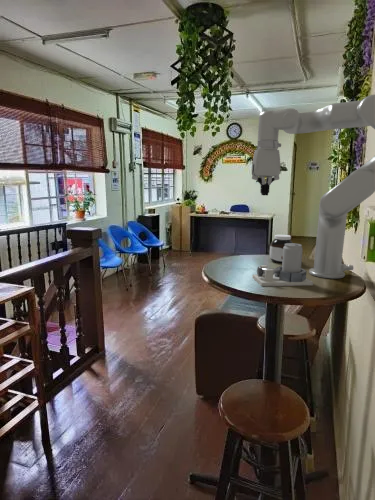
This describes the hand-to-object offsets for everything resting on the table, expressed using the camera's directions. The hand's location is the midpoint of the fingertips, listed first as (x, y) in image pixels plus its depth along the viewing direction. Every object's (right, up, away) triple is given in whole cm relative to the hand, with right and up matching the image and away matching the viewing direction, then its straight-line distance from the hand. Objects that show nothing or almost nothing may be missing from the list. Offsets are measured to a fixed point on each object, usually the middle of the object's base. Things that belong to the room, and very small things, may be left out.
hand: (264, 195), depth 134 cm
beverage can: (+6, -31, -13) cm, 35 cm away
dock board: (+3, -32, -13) cm, 35 cm away
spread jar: (+12, -26, +18) cm, 34 cm away
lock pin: (-2, -31, -14) cm, 34 cm away
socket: (+6, -31, -13) cm, 34 cm away
